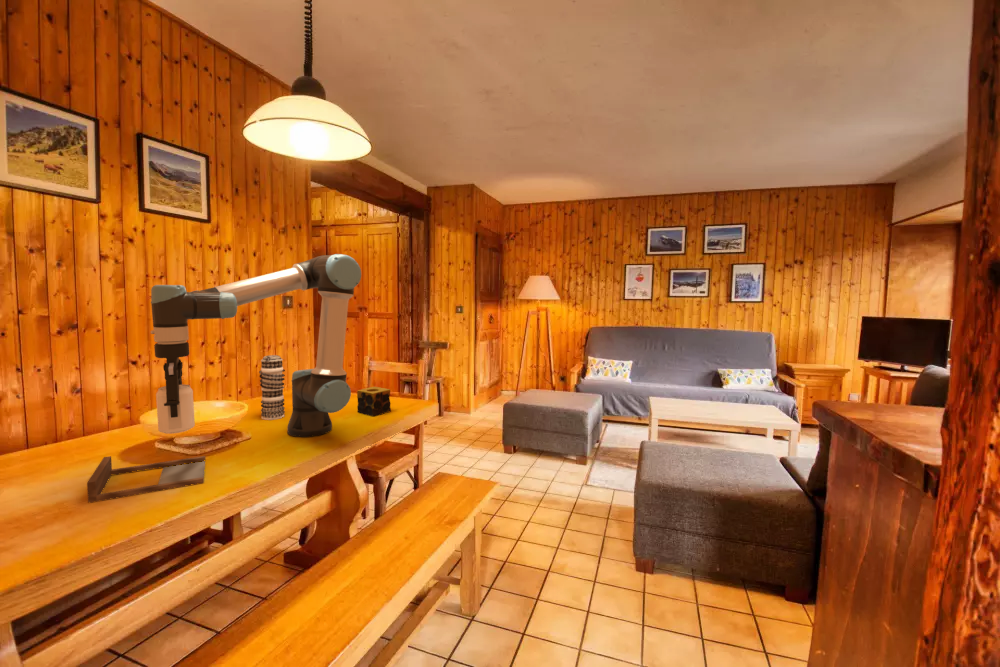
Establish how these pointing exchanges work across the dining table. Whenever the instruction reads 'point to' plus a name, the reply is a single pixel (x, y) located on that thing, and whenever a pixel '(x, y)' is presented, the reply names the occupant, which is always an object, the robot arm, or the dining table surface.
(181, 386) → the beverage can
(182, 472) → the dark frame
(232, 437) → the dining table surface
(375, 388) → the dark patterned box
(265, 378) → the decorative candle
